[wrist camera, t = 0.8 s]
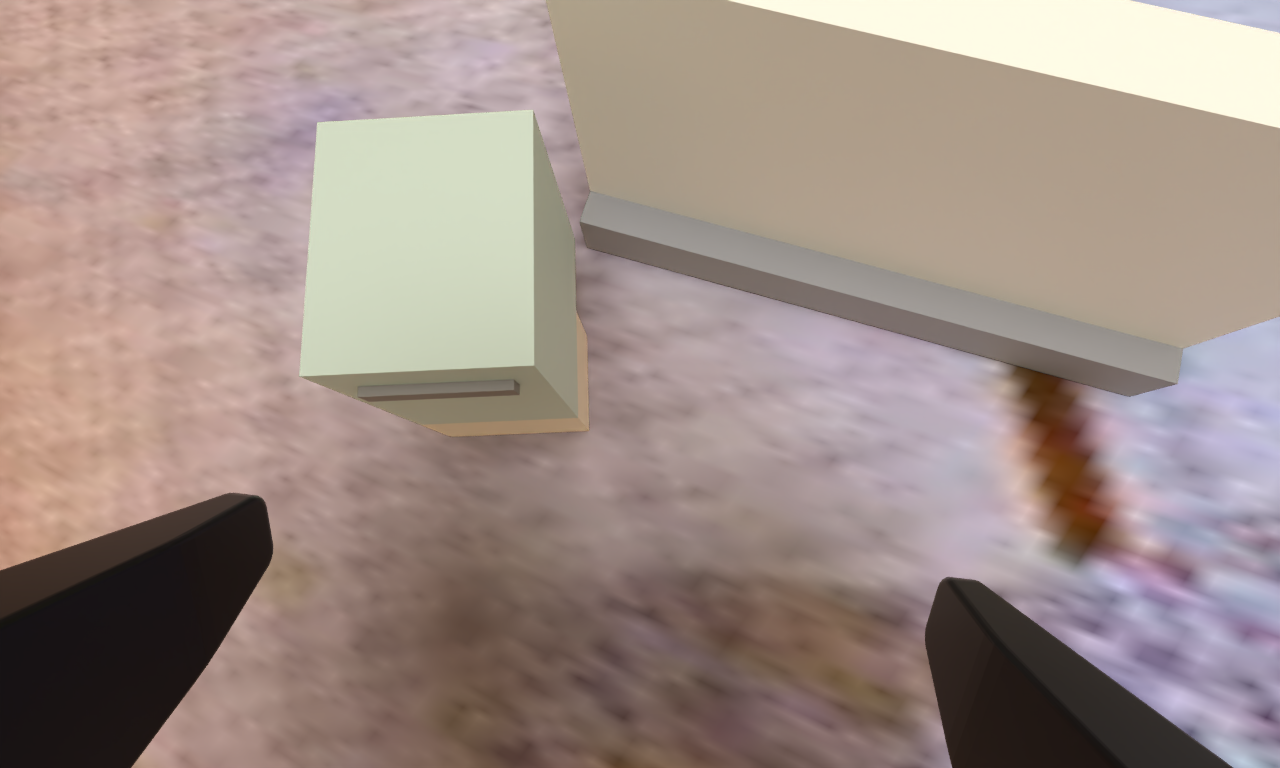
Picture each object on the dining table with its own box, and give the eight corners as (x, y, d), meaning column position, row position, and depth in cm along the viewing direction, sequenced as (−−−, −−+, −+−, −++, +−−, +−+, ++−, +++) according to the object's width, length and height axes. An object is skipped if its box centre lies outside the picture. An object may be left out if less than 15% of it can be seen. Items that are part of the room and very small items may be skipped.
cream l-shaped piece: (1129, 396, 23) (1611, 267, 11) (587, 247, 25) (516, 5, 13) (1172, 141, 25) (1624, -197, 13) (664, 21, 27) (662, -368, 15)
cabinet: (589, 437, 24) (534, 377, 14) (450, 443, 24) (298, 388, 14) (585, 272, 25) (532, 109, 15) (453, 279, 25) (316, 122, 15)
